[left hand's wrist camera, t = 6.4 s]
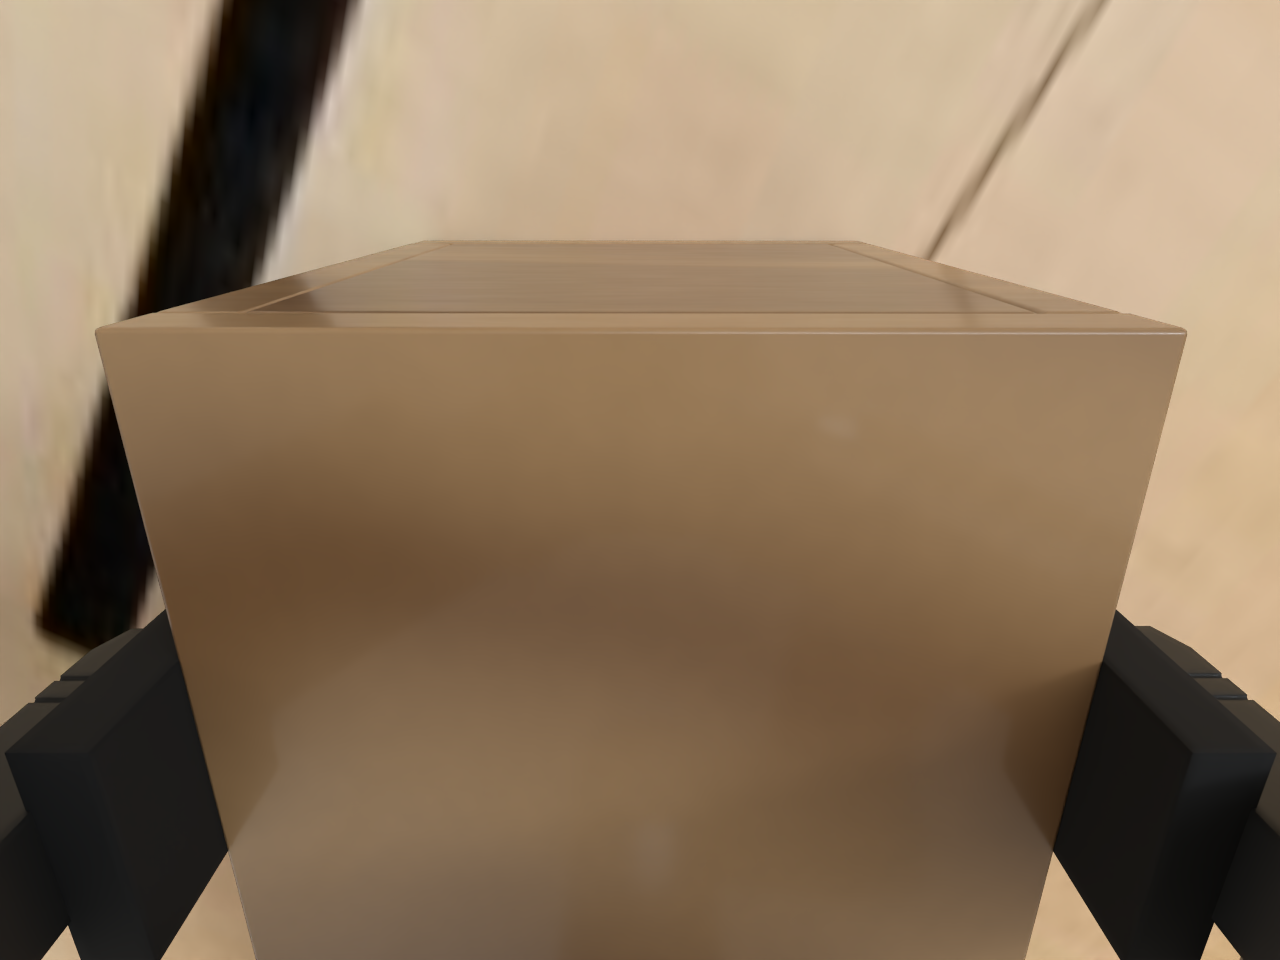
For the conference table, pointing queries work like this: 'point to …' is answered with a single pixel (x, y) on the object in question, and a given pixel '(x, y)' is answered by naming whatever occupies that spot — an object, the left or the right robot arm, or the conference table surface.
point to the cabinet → (640, 591)
